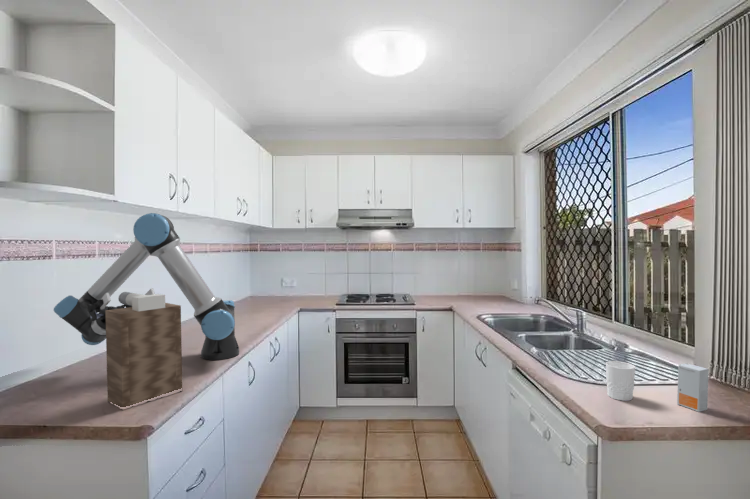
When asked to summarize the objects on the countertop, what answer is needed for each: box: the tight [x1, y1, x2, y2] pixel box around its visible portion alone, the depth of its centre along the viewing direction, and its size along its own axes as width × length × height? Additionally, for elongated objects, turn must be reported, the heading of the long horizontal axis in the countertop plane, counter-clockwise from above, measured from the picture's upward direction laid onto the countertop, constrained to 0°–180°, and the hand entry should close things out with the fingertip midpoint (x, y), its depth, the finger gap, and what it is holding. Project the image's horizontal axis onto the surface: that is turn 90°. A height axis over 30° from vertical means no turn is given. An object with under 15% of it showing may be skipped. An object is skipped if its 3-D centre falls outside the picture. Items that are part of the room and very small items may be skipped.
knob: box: [118, 291, 166, 311], centre depth 134 cm, size 18×8×4 cm, turn 54°
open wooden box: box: [105, 302, 183, 407], centre depth 132 cm, size 18×10×28 cm, turn 144°
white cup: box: [605, 360, 636, 402], centre depth 131 cm, size 8×8×10 cm
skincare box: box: [676, 362, 710, 413], centre depth 123 cm, size 6×4×12 cm
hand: (131, 294), depth 136 cm, fingers open, 13 cm apart
